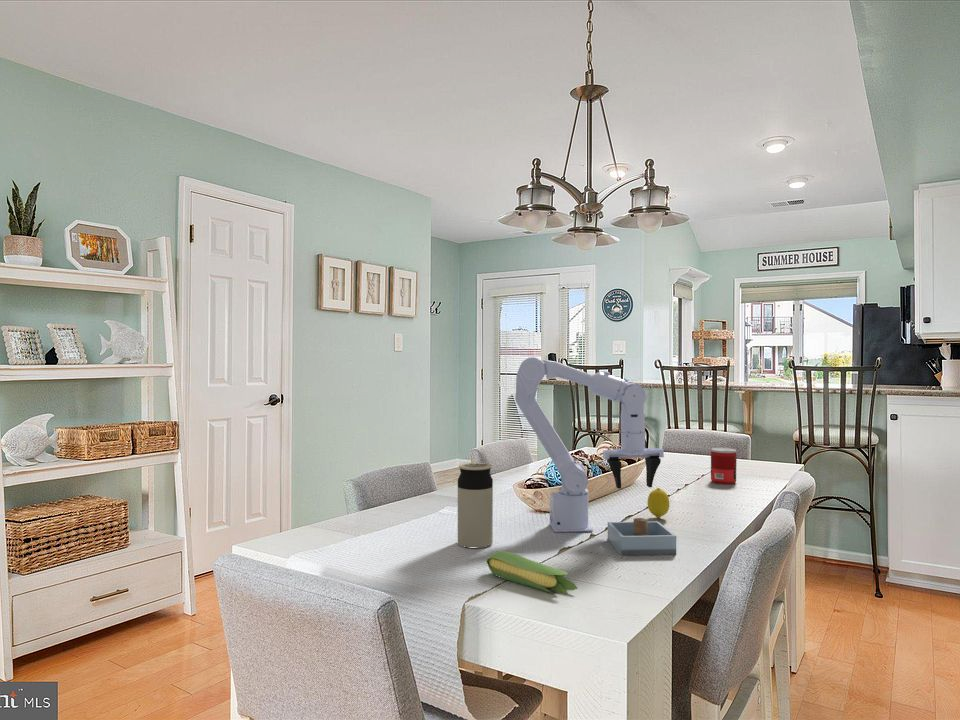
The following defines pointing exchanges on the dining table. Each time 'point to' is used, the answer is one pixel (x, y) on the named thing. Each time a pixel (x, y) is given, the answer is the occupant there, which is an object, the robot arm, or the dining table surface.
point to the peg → (640, 527)
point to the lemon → (658, 502)
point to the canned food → (723, 465)
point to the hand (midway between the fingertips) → (633, 487)
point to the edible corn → (528, 572)
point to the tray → (641, 539)
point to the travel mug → (475, 505)
